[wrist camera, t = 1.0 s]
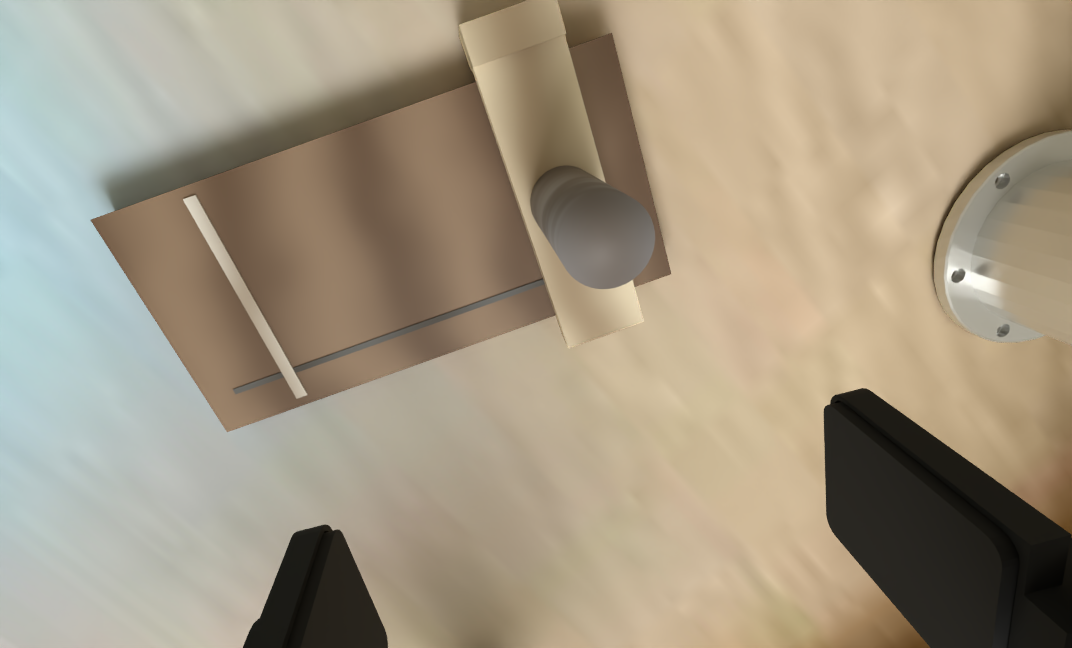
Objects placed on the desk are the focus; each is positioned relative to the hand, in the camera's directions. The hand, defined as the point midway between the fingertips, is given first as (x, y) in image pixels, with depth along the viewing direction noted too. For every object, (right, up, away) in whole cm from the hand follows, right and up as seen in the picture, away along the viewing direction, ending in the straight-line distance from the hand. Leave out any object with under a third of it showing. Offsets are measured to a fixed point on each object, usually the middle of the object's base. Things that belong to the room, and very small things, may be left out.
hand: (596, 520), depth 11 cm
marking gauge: (0, +11, +19) cm, 22 cm away
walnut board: (-8, +8, +19) cm, 22 cm away
